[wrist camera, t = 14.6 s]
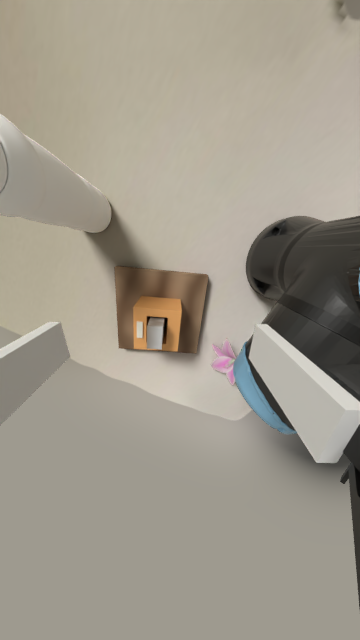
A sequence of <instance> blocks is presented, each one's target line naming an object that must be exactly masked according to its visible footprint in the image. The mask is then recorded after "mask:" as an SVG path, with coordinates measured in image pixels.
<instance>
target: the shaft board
mask: <svg viewBox="0 0 360 640" xmlns="http://www.w3.org/2000/svg"><path fill="white" fill-rule="evenodd" d="M207 282H208V275H207V274H197V273H186V272H176V271H165V270H155V269H144V268H134V267H123V266H116V267H115V286H116V304H117V322H118V341H119V348H122V349H134V327H133V307H134V305H135V304H136V303H137V301H138V300H139V298H140V297H141V296H147V297H159V298H171V299H181V309H182V313H181V323H180V333H179V342H178V351H167V352H182V353H196V352H197V346H198V339H199V333H200V327H201V320H202V314H203V308H204V301H205V295H206V289H207ZM167 325H168V318H165V317H152V316H151V317H150V320H149V323H148V325H147V349H161V350H152V351H162V343H163V336H164V328H165V327H167ZM147 349H137V350H147Z"/></svg>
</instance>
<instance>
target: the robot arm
mask: <svg viewBox="0 0 360 640" xmlns="http://www.w3.org/2000/svg"><path fill="white" fill-rule="evenodd" d="M246 274H247V278H248V281H249V283H250V285H251V286H252V287H253V289H254V290H255V291H256V292H258V293H259V294H261V295H263V296H265V297H267V298H269V299H273V300H278V302H277V303H276V304H275V305H274V307H273V308H272V310H271V311H270V312H269V314H268V315H267V317H266V318H265V319H264V321H263V322H262V323H261V324H255V329H254V334H253V335H252V337H251V338H250V339H249V341H247V342H245V343H244V345H243V349H242V350H241V352H240V353H239V355H238V356H237V358H236V359H235V361H234V364H233V374H234V377H235V382H236V384H237V387H238V389H239V391H240V392H241V394H242V396H243V397H244V399H245V400H246V402H247V403H248V404H249V406H250V407H251V408H252V409H253V410H254V412H255V413H256V414H257V415H258V416H259V417H260V418H261V419H262V420H263V421H264V422H266V423H267V424H268V425H270V426H271V427H272V428H275V429H276V428H277V429H278V431H279V432H281V433H284V434H293V433H294V434H296V433H298V435H299V436H300V437H301V439H302V441H303V442H304V444H305V445H306V447H307V448H308V450H309V452H310V453H311V455H312V456H313V458H314V459H315V461H316V462H317V463H337V462H338V460H339V458H340V457H341V455H342V454H343V452H344V454H345V455H346V456H347V457H348V459H349V460H350V461H351V463H350V465H349V466H348V468H347V469H346V471H345V473H344V474H343V475H342V477H341V481H340V482H342V483H343V484H345V482H346V481H347V479H349V483H350V495H351V506H352V507H351V508H352V520H353V532H354V544H355V556H356V557H355V558H356V569H357V582H358V592H359V593H358V594H359V607H360V216H356V217H351V218H345V219H340V220H334V221H329V222H324V221H321V220H318V219H315V218H312V217H307V216H294V217H290V218H286V219H282V220H279V221H277V222H275V223H273V224H271V225H270V226H268V227H267V228H266V229H264V230H263V231H262V232H261V233H260V234H259V236H258V237H257V238H256V239H255V241H254V242H253V244H252V246H251V248H250V250H249V253H248V256H247V261H246ZM285 306H286V307H285ZM69 357H70V354H69V350H68V347H67V343H66V340H65V336H64V333H63V329H62V326H61V322H48V323H46V324H44V325H43V326H41V327H39V328H37V329H35V330H34V331H32V332H30V333H28V334H26V335H24V336H23V337H21V338H19V339H17V340H15V341H14V342H12V343H10V344H8V345H6V346H5V347H3V348H1V349H0V425H1V424H2V423H3V422H4V421H5V420H6V419H7V418H8V417H9V416H10V415H11V414H12V413H13V412H14V411H15V410H16V409H17V408H18V407H20V406H21V405H22V404H23V402H25V401H26V400H27V399H28V398H29V397H30V396H31V394H33V393H34V392H35V391H36V390H37V389H38V388H39V387H40V386H41V385H42V384H43V383H44V382H45V381H46V380H47V379H48V378H49V377H50V376H51V375H52V374H53V373H54V372H55V371H56V370H57V369H58V368H59V367H60V366H61V365H62V364H63V363H64V362H65V361H66V360H67V359H68V358H69Z"/></svg>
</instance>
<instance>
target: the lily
mask: <svg viewBox="0 0 360 640" xmlns="http://www.w3.org/2000/svg"><path fill="white" fill-rule="evenodd" d="M212 347H213V349H214V351H215V353H216V354H217V356H218V357H217V358H216V359H215V360H214V361H213V362H212V363H211V367H212V368H213V369H215V370H217V371H219V372H222V373H226V375H227V378H228V380H229V382H230V384H231V385H233V384H234V383H235V377H234V374H233V364H234V361H235V359H236V358H237V357H236V356H235V354H234V352H233V350H232V347H231V345H230V342H229V340H228V339H227V338H226V339H225V340H224V342H223V344H222V348H221V349H220V348H218V347H217V346H215V345H214V344H212ZM241 350H242V349H241Z"/></svg>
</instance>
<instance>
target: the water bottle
mask: <svg viewBox="0 0 360 640" xmlns="http://www.w3.org/2000/svg"><path fill="white" fill-rule="evenodd" d="M0 215H3V216H8V217H21V218H24V219H28V220H32V221H36V222H40V223H45V224H50V225H56V226H63V227H69V228H72V229H76V230H83V231H86V232H91V233H98V232H101V231H103V230H104V229H106V228H107V226H108V225H109V223H110V220H111V207H110V204H109V202H108V200H107V198H106V196H105V195H104V194H103V193H102V192H101V191H100V190H99V189H98V188H96V187H95V186H93V185H92V184H90V183H89V182H88V181H87V180H86V179H84V178H83V177H81V176H80V175H78V174H76V173H75V172H74V171H73V170H72V169H70V168H69V167H68V166H67V165H66V164H65V163H63V162H62V161H61V160H60V159H58V158H57V157H56V156H54V155H53V154H52V153H50V152H49V151H48V150H46V149H45V148H44V147H42V146H41V145H40V144H38V143H37V142H35V141H34V140H32V139H31V138H29V137H28V136H26V135H24V134H23V133H22V132H21V131H20V130H19V129H18V128H17V127H16V126H15V125H14V124H13V123H12V122H10V121H9V120H8V119H7V118H5V117H4V116H3V115H1V114H0Z"/></svg>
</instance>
